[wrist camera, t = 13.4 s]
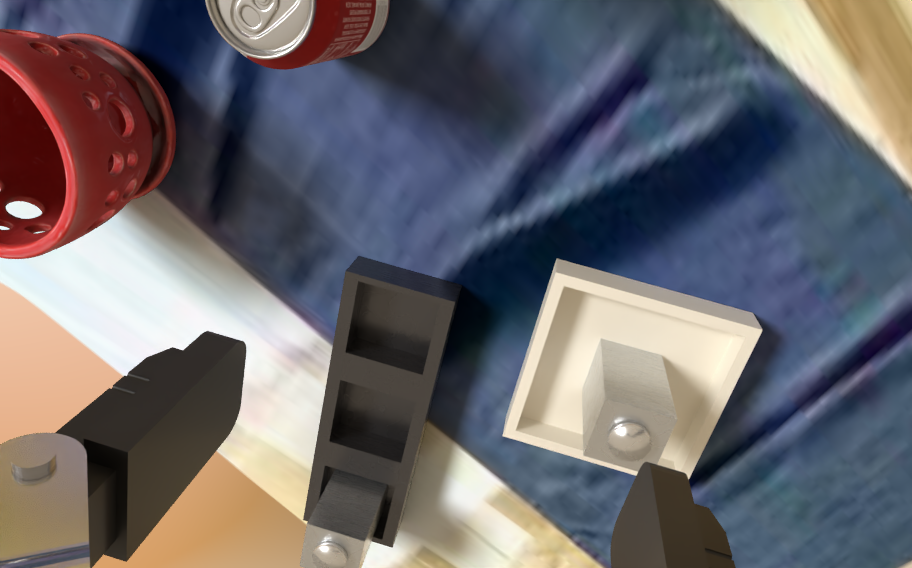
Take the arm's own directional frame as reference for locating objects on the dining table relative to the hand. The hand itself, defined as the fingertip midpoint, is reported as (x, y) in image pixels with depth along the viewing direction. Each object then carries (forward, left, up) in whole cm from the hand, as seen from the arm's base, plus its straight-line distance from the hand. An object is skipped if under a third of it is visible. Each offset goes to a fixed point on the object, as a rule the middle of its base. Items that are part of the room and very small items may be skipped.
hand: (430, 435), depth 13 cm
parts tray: (-11, +15, -33) cm, 38 cm away
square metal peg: (+6, +32, -33) cm, 46 cm away
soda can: (+14, -5, -33) cm, 36 cm away
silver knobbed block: (-11, +15, -32) cm, 37 cm away
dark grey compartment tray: (+6, +24, -33) cm, 41 cm away
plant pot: (+30, +7, -33) cm, 45 cm away
